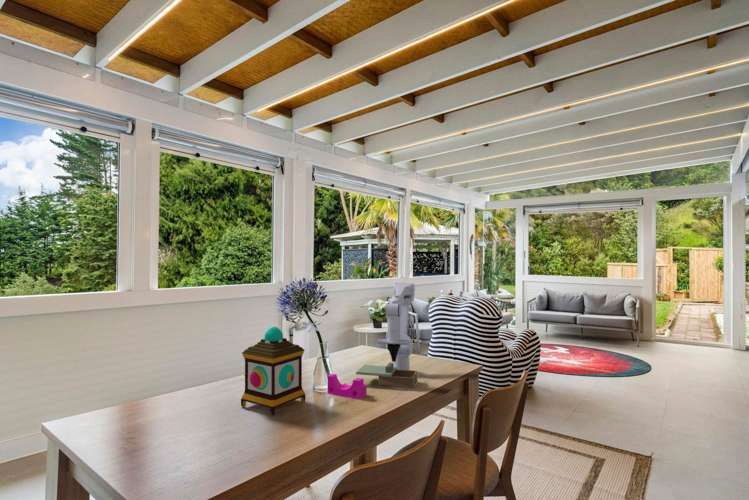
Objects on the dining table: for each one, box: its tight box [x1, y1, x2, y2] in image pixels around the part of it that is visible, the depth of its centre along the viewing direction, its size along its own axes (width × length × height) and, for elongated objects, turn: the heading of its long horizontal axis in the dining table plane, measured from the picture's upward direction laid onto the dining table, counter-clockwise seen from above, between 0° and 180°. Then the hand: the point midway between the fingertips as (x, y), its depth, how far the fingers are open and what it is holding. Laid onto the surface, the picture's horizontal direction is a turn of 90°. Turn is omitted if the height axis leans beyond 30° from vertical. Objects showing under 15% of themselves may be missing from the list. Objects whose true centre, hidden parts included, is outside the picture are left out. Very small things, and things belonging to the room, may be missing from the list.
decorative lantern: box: [240, 326, 306, 417], centre depth 163 cm, size 20×20×30 cm
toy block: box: [327, 373, 368, 400], centre depth 175 cm, size 15×6×8 cm, turn 62°
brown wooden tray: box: [378, 369, 418, 391], centre depth 188 cm, size 12×15×5 cm
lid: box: [355, 362, 397, 377], centre depth 190 cm, size 13×16×3 cm
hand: (393, 361), depth 189 cm, fingers closed
